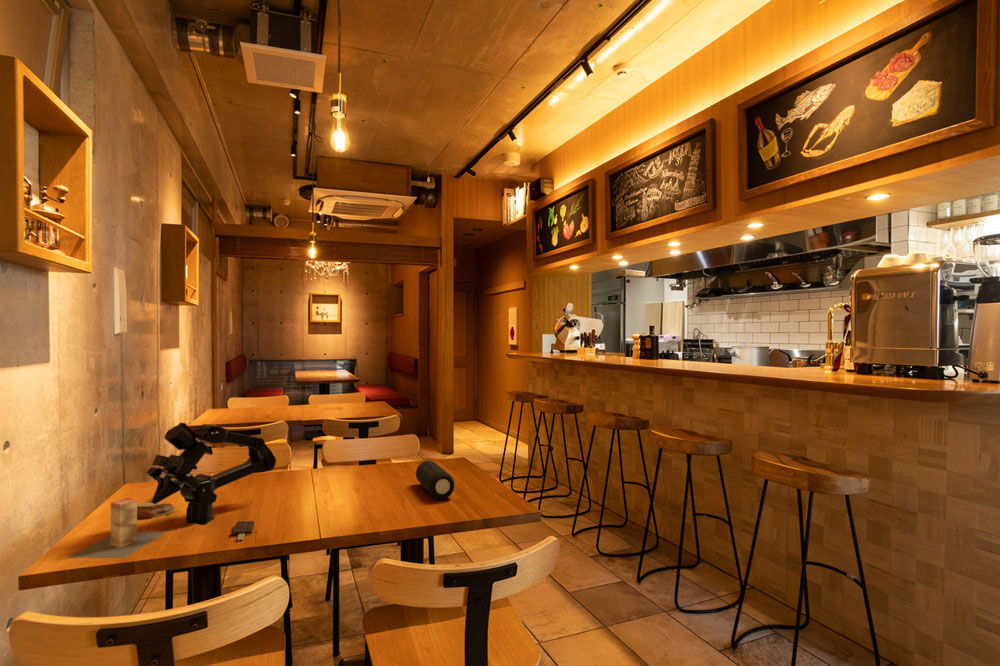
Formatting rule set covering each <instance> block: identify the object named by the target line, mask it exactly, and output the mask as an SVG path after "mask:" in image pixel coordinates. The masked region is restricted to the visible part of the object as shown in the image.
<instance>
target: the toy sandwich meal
mask: <svg viewBox="0 0 1000 666" xmlns="http://www.w3.org/2000/svg"><path fill="white" fill-rule="evenodd" d="M152 499H153V497H151V498H150V499H149V500H147V501H146V502H144V503H140V504H137V519H147V518H157V517H161V516H164V515H166V516H168V514H169V515H171V514H172V513H174V511H175V510H176V506H174V505H172V504H171V503H167V502H158V503H156V504H153V503H152V502H151V501H152ZM170 513H171V514H170Z"/></svg>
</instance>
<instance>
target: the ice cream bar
mask: <svg viewBox="0 0 1000 666" xmlns="http://www.w3.org/2000/svg"><path fill="white" fill-rule="evenodd" d="M253 526H254V527H255V521H254V520H249V521H248V520H240V521H237V522H235V525H234V527H233V530H232V533H231V536H236V537H237V538H236V540H238V542H241V541H240V540H242V541H244V540H243V539H245V537H246V536H245V535H247V534H253V531H254V530H253V529H254V527H253ZM252 530H253V531H252ZM247 536H248V535H247Z"/></svg>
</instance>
